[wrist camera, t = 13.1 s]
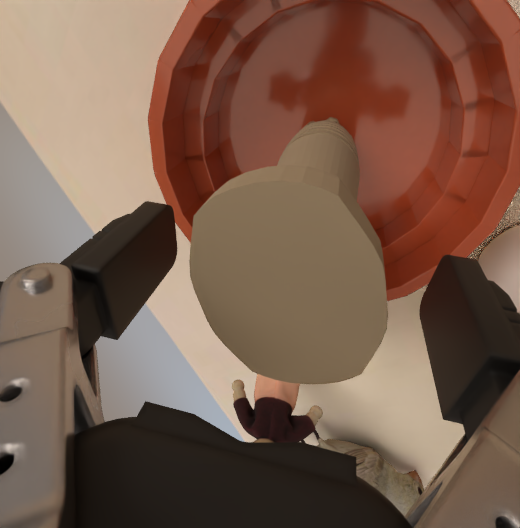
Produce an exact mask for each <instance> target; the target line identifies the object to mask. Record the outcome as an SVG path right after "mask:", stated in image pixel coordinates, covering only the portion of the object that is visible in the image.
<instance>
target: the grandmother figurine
mask: <svg viewBox="0 0 520 528" xmlns="http://www.w3.org/2000/svg"><path fill="white" fill-rule="evenodd" d="M299 385H300V384H298V383H289V382H283V381H278V380H274V379H271V378H268V377H265V376H262V375H260V374H257V379H256V385H255V392H254V398H255V408H254V410H253V409H252V407H251V405H250V404H249V401H248V399H247V398H246V394H245V391H244V383H243V381H241V380H235V381H234V382H233V384H232V388H233V390H234V393H233V397H234V404H233V405H234V408H235V410H236V413H237V416H238V419H239V421H240V423H241V425H242V426H243V428H244V429H245V431H246V432H247V433H249V434H250V435H251V436H253V437H255V438H256V439H257V440H256V441H254V442H299V441H301V440H303V439H304V438H306V437H307V436H308V435H310V434H311V433H312V432H314V431H315V425H316V424H317V422H318V419H320V418H321V417H322V414H323V412H322V409H321V408H320V407H319V406H313V407H312V408H311V409H310V412H309V413H307V414H306V415H303V416H302V415H301V416H293V415H292V416H291V414H292V412H293V410H294V408H295V405H296V401H297V396H298V390H299Z"/></svg>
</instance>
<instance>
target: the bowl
mask: <svg viewBox="0 0 520 528" xmlns="http://www.w3.org/2000/svg"><path fill="white" fill-rule="evenodd" d="M329 117H333V118H336V119H338V121H339V124H340V125H341V126H343V127H344V128H345V129H346V130H347V131H348V132H349V134H350V135H351V136H352V138H353V140H354V143H355V146H356V149H357V154H358V159H359V170H360V180H359V187H358V195H357V203H358V204H359V205H360V207H361V209H362V210H363V212H364V213H365V215H366V216H367V218H368V220H369V221H370V223H371V225H372V227H373V229H374V230H375V232H376V234H377V236H378V237H379V239H380V242H381V247H382V252H383V259H384V268H385V279H386V294H387V301H390V300H393V299H397V298H401V297H404V296H408V295H409V294H411V293H413V292H415V291H416V290H418V289H420V288H422V287H423V286H425V285H427V284H429V282H430V280H431V278H432V276H433V274H434V272H435V270H436V268H437V266H438V264H439V262H440V260H441V258H442V257H443V256H444V255H453V256H458V257H464V258H467V257H468V256H469V255H470V254H471V253H472V252H473V251H474V250H475V249H476V248H477V247H478V246H479V245H480V244H481V243H482V242H483V241H484V240H485V239H486V238H487V237H488V236H489V235H490V234H491V233H492V232H493V231H494V230H495V229H496V227H497V226H498V224H499V222H500V221H501V219H502V217H503V215H504V213H505V212H506V210H507V208H508V206H509V204H510V203H511V201H512V199H513V197H514V195H515V193H516V192H517V190H518V188H519V186H520V18H519V17H518V15H517V14H516V13H515V11H514V10H513V8H512V7H511V5H510V4H509V3H508V1H507V0H189V2H188V4H187V6H186V8H185V10H184V11H183V13H182V15H181V17H180V19H179V21H178V23H177V25H176V27H175V29H174V30H173V32H172V34H171V36H170V38H169V40H168V42H167V44H166V46H165V48H164V49H163V51H162V53H161V55H160V57H159V60H158V64H157V69H156V75H155V81H154V86H153V92H152V98H151V103H150V109H149V115H148V125H149V134H150V142H151V151H152V160H153V169H154V172H155V173H154V174H155V176H156V179H157V181H158V184H159V186H160V189H161V191H162V194H163V196H164V199H165V201H166V204H167V205H170V206H172V208H173V211H174V218H175V223H176V224H177V225H178V227H179V228H180V229H181V231H182V232H183V233H184V235H185V236H186V237H187V239H188V240H189V241H190V243H191V236H192V226H193V216H194V215H195V214H196V213H197V211H198V210H199V209H200V208H201V207H202V206H203V205H204V203H205V202H206V201H207V200H208V199H209V198H210V197H211V196H212V195H213V194H214V192H215V191H217V190H218V189H219V188H220V187H221V186H223V185H224V184H225V183H226V182H228V181H229V180H231V179H233V178H235V177H237V176H239V175H241V174H243V173H246V172H249V171H253V170H256V169H260V168H264V167H270V166H277V164H278V161H279V159H280V157H281V155H282V153H283V151H284V150H285V148H286V146H287V145H288V143H289V142H290V141H291V139H292V138H293V137H294V136H295V135H296V134H297V133H298V132H299V131H300V130H301V129H303V127H304V126H305V125H306V124H308V123H309V122H310V121H315V122H317V121H323V120H327V119H328V118H329Z"/></svg>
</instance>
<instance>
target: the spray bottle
mask: <svg viewBox="0 0 520 528" xmlns="http://www.w3.org/2000/svg"><path fill="white" fill-rule="evenodd" d="M478 263H479V264H480V266H481V268H482V270H483V272H484V274H485V276H486V278H487V280H490V281H494V282H495V283H496V284H497V285H498V286H499V287H500V288H502V289H503V290H504V291H505V292H506V293H507V294H508V295H509V296H510V298H511V300H512V301H513V303H514V305H515V307H516V308H517V312H518V313H519V314H520V225H518V226H515V227H512V228H510V229H508V230H506V231H505V232H503V233H502V234H500V235H499V236H497V237H496V238H494V239H493V240H492V241H491V242H490V243H489V244H488V245H487V246H486V248H485V249H484V250H483V251H482V253H481V255H480V257H479V260H478Z"/></svg>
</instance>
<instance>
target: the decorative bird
mask: <svg viewBox="0 0 520 528" xmlns="http://www.w3.org/2000/svg"><path fill="white" fill-rule="evenodd" d="M314 433H315V435H316V438H317V440H318V442H319V443H320V444H319V445H318V446H317V447H321V448H324V449H328V450H332V451H336V452H340V453H343V454H347V455H351V456H355V457H356V476H358V477H360V478H362V479H363V480H365V481H366V482H368V483H369V484H371V485H372V486H373V487H375V488H376V489H377V490H379V491H380V492H381V493H382V494H383V495H384V496H385V497H386V498H388V499H389V500H390V501H391V502H392V503H393V504H394V505H395V507H396V508H397V509H398V510H399V511H400V512H401V513H402V514H403V515H404V516H405V515H406V514H407V512H408V511H409V510H410V508H411V507H412V506H413V505H414V503H415V502H416V501H417V500H418V498H419V497H420V496H421V494H422V493H423V491H424V488H423V485H422V481H421V478H420V477H419V475H418V473H417V472H416V470H414V471H411V472H408V473H406V474H402V473H399V472H397V471H396V470H395V468H394V467H393V466H392V465H390V464H389V463H388V462H387V461H386V460H384V459H383V458H382V457H381V456H380V455H379V454H378V453H377V452H376V451H375V450H374V449H373V448H371V447H364V446H360V445H357V444H354V443H351V442H347V441H341V440H335V439H327V440H325V441H324V440H323V439H321V438H320V437H319V435H318V433H317V431H316V430H315V431H314ZM301 442H302V443H305V441H304V440H301ZM305 444H306V443H305Z"/></svg>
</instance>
